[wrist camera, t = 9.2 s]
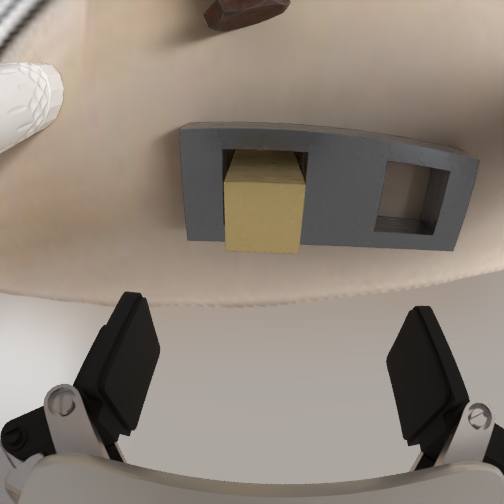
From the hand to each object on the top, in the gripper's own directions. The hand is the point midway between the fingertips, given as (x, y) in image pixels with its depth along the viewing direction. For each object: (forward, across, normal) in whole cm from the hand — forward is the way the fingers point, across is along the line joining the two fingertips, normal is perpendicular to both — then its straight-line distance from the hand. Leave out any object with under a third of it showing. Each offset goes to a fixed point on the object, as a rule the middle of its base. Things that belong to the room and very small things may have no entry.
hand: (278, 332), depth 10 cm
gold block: (+17, +1, 0) cm, 17 cm away
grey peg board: (+17, -5, 0) cm, 18 cm away
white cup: (+16, +22, -9) cm, 29 cm away
